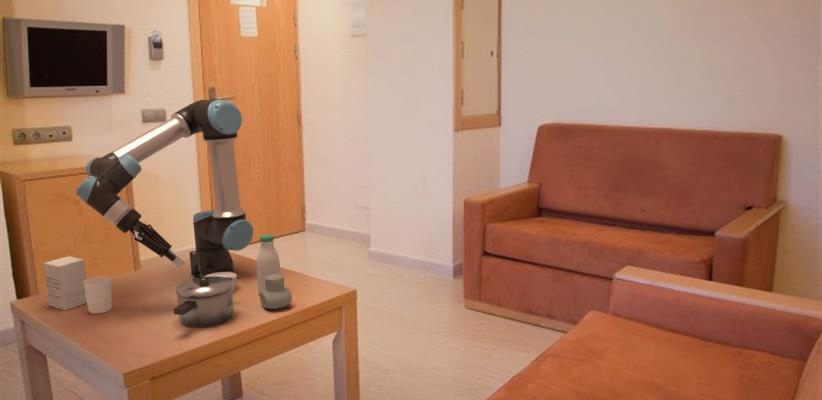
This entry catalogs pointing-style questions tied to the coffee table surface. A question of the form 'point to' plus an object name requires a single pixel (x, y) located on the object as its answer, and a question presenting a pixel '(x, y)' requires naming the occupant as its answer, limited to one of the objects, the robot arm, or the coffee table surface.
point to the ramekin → (226, 274)
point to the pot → (205, 310)
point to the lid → (202, 282)
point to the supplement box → (65, 282)
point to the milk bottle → (266, 261)
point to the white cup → (98, 294)
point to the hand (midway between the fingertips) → (183, 264)
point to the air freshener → (275, 293)
